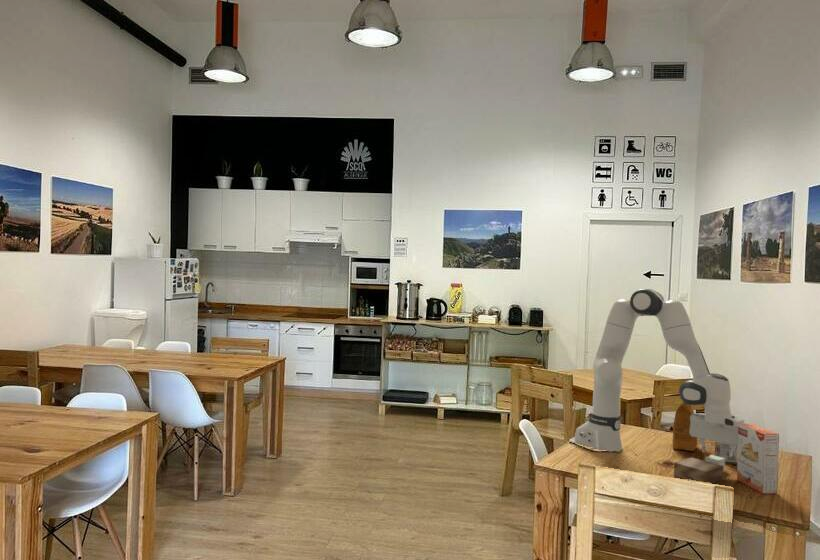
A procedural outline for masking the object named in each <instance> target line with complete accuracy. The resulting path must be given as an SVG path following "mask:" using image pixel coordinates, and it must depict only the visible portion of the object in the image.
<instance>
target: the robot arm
mask: <svg viewBox="0 0 820 560" xmlns="http://www.w3.org/2000/svg"><path fill="white" fill-rule="evenodd" d="M652 316H654V317H655V318H657V319H658V321H659V324H660V328H661V332H662V336H663V338H664V339H663V340H664V341H665V343H666V344H667V346H668V347H669V348H671V349H672V350H675V351H676V352H679V353H680V354H681V355H683V356H684V358H685V359H686V361H687V364H688V367H689V369H690V372H691V374H692V377H693V379H689V380H687V381H685V382H682V383H681V384H680V386H679V388H678V395H679V397H680V400H682V403H683V402H685V403H686V404H689V405H691V406H699V405H702V406H703V407H704V413H698V412H695V413H694V414H692V415H691V416H690V421H691V424H690V431H689V433H690V435H691V436H692V437H697V439H698V442H699V444H700V446H701V451H704V452H707V451H708V445H706V443H705V441H706V440H707V441H711V442H714V443H715V442H719V443H724V444H728V445H730V448H731V449H730V451H727V456H729V457H732V456H733V451H734V450H735V448H736V446H737V448H738V426H739V424H744V423H745V420H744V419H743V418H741V417H739V416H738V415H735V414H734V413H732V412H731V407H730V402H731V399H732V398H731V397H732V396H731V384H730V381H729V378H727V377H726V376H725V375H722V374H719V373H710V370H709V367H708V364H707V362H706V360H705V357H704V354H703V351H702V349H701V347H700V345H699V343H698V341H697V337H696V336H695V333H694V330H693V326H692V323H691V320H690V318H689V315H688V313H687V310H686V308H685V306H684V304H683V303H682V302H680V301H679V300H675V299H672V300H671V299H670V300H665V298H664V297H663V295H662V294H661V293H660V292H658V291H656V290H654V289H652V288H639V289H638V290H635V291H634V292H633V293H632V294H631V296H630V299H629V300H628V299H617V300H616V301H615V302H614V303H613V304H612V307H611V309H610V310H609V314H608V315H607V320H606V323H605V326H604V330H603V333H602V336H601V340H600V343H599V345H598V349H597V352H596V355H595V358H594V361H593V363H592V365H593V366H592V369H593V372H594V373H593V376H594V379H593V380H594V381H593V389H592V391H593V392H592V412H590V413H587V414H586V417H587V418H589V419H588V421H585V423H582V424H581V425H579V426H578V427H576V429H575V431H574V432H575V433H574V437H572V438H570V439H569V441H568V442H569V443H570V441H571V442H573V443H577V444H580V445H583V446H587V447H593V448H591V449H599V450H606V451H619V452H621V451H620V450H622V449H623V448H624V447H623V446H622V445H623V444H622V440H621V439H622V438H621V422H622V421H621V420H622V419H621V415H620V413H621V394H622V393H621V392H622V385H623V368H622V363H623V361H624V358H625V355H626V353H627V350H628V348H629V346H630V341H631V338H632V334H633V331H634V327H635V323H636V321H637V319H638V318H639V317H652ZM573 443H572V444H573ZM623 450H624V449H623ZM623 450H622V451H623Z"/></svg>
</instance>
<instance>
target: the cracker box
mask: <svg viewBox="0 0 820 560" xmlns="http://www.w3.org/2000/svg"><path fill="white" fill-rule="evenodd" d="M779 444H780V434H779V433H777V432H774V431H773V430H769V429H767V428H765V427H762V426H760V425H757V424H755V423H745V422H744V424H739V426H738V447H737V463H736V464H737V467H736V468H737V471H736V480H737V481H738V482H740V483H742V484H744V485H746V486H747V487H749V488H751V489H753V490H755V491H756V492H758V493H759V494H762V495H772V494H774V495H775V494H778V490H779V489H778V488H779V487H778V486H779V485H778V481H779V480H778V479H779V451H780V449H779V448H780V445H779Z"/></svg>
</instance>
